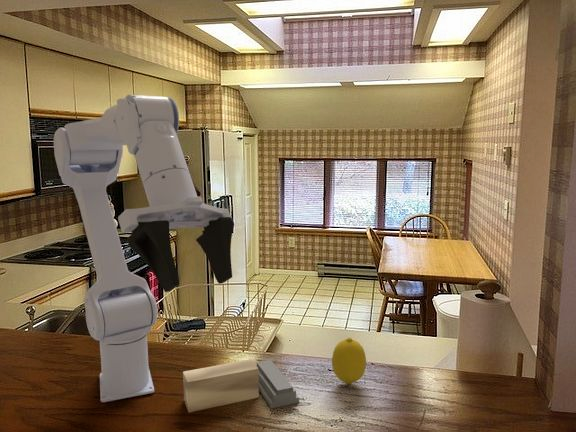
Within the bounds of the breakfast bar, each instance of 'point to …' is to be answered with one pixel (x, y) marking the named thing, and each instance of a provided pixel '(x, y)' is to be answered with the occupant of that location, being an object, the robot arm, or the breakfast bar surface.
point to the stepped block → (275, 385)
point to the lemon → (349, 361)
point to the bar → (220, 385)
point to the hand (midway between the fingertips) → (200, 284)
